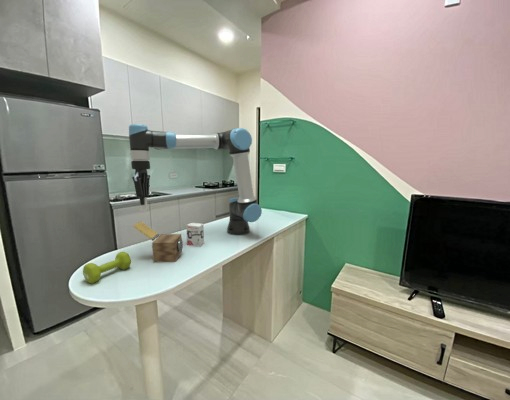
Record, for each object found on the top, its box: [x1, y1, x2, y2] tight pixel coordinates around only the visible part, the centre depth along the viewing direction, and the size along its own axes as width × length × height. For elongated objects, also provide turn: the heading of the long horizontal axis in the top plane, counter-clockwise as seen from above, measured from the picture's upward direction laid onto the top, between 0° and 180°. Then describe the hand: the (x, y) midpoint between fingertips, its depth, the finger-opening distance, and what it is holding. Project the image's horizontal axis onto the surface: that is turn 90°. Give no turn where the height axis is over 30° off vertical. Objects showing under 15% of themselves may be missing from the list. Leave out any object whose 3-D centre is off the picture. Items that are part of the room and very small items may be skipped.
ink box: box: [185, 222, 205, 247], centre depth 125 cm, size 8×5×12 cm, turn 73°
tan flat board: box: [132, 221, 160, 242], centre depth 106 cm, size 11×7×1 cm
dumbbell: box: [82, 251, 132, 284], centre depth 92 cm, size 16×8×7 cm, turn 151°
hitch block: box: [151, 233, 183, 263], centre depth 108 cm, size 10×12×10 cm
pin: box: [177, 239, 183, 252], centre depth 108 cm, size 12×6×6 cm, turn 94°
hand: (144, 211), depth 104 cm, fingers closed
